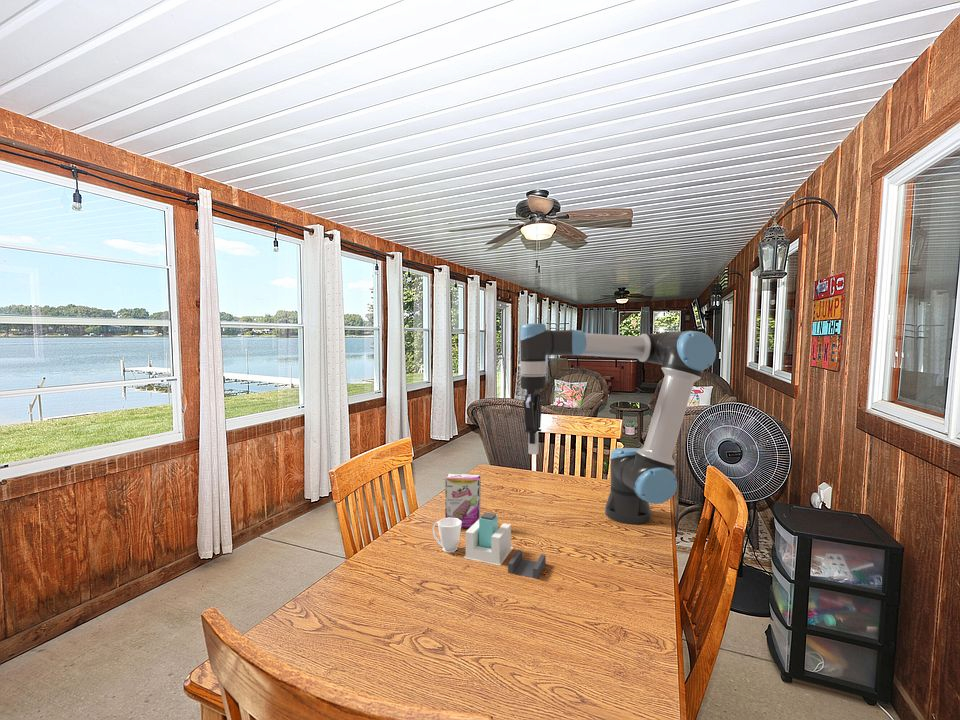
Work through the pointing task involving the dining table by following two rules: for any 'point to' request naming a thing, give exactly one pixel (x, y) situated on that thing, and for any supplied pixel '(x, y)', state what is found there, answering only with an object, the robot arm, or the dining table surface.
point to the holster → (526, 565)
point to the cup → (448, 533)
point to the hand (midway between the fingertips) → (533, 453)
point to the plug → (487, 529)
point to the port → (498, 545)
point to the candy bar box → (463, 498)
